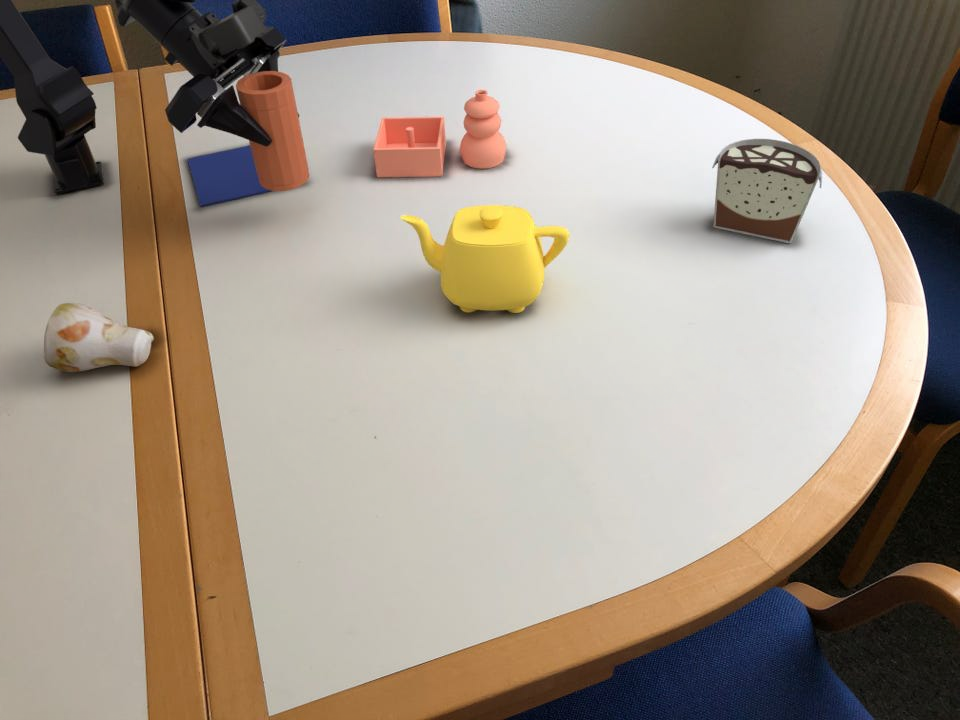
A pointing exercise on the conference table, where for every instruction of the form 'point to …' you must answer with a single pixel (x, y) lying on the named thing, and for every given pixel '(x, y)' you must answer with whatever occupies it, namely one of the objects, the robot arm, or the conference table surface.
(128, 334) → the fruit patterned vase
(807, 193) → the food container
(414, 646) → the conference table surface
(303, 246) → the conference table surface
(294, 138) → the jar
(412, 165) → the pottery
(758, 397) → the conference table surface
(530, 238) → the teapot
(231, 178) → the napkin
